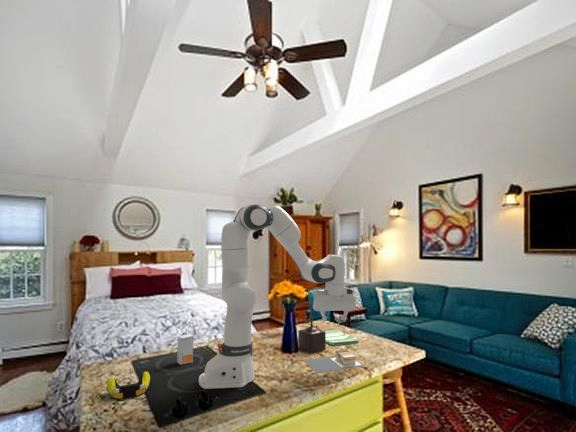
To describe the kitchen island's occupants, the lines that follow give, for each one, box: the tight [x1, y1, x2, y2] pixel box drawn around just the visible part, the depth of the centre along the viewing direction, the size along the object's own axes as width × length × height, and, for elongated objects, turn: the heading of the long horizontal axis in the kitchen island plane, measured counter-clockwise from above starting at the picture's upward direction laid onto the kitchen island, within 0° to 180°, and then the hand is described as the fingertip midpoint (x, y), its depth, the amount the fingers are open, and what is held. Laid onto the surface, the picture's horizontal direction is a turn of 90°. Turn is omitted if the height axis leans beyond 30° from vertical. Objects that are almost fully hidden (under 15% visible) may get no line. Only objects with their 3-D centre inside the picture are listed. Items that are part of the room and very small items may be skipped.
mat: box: [303, 355, 366, 374], centre depth 159 cm, size 23×16×1 cm
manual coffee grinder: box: [297, 309, 327, 354], centre depth 182 cm, size 16×11×18 cm
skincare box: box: [176, 333, 194, 366], centre depth 162 cm, size 6×4×12 cm
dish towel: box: [324, 328, 360, 346], centre depth 198 cm, size 18×23×3 cm
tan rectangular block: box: [335, 349, 357, 366], centre depth 161 cm, size 9×6×4 cm, turn 18°
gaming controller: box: [106, 371, 151, 400], centre depth 130 cm, size 15×6×10 cm
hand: (334, 320), depth 161 cm, fingers open, 8 cm apart
